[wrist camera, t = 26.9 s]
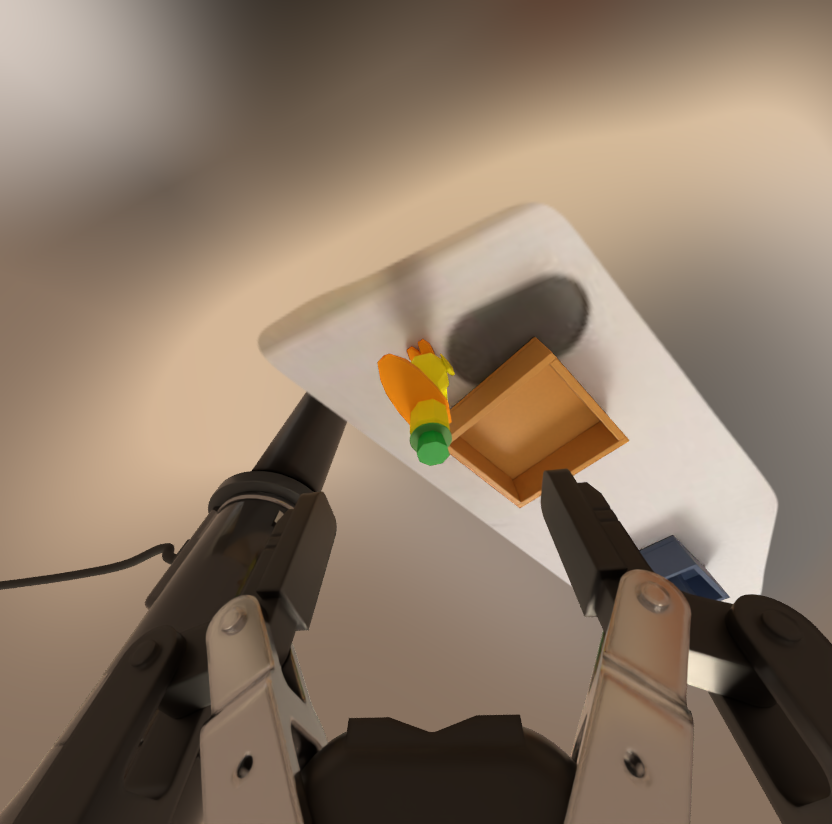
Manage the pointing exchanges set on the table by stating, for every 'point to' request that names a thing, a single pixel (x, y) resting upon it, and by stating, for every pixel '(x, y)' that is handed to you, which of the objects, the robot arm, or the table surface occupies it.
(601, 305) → the table surface
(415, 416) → the toy figure
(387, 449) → the table surface
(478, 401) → the ochre bin
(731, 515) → the table surface
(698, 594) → the blue bin
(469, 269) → the table surface
